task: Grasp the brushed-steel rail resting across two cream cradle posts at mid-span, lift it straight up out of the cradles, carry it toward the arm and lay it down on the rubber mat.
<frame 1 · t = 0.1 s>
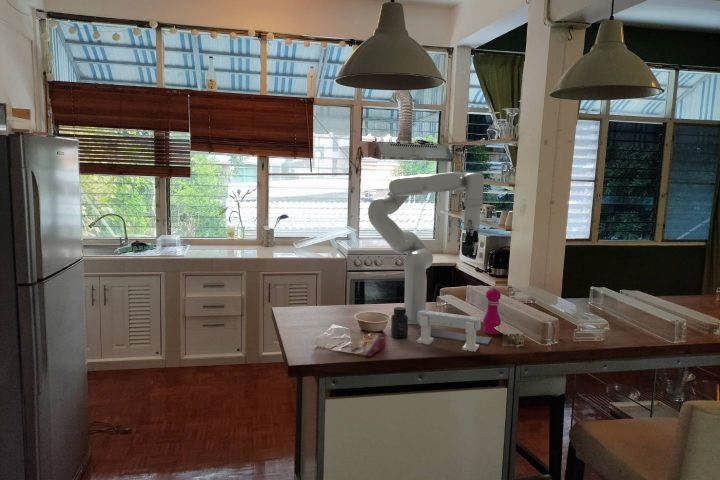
hand: (471, 243, 228), 37 cm above the table, tool pointing down, fingers open, 9 cm apart
post right: (470, 348, 208), on the table
supplement bottle: (399, 337, 220), on the table
pepper mill: (491, 332, 229), on the table
rail: (448, 324, 210), point 8 cm above the table, touching post left, post right
post left: (425, 341, 215), on the table
mat: (454, 336, 221), on the table
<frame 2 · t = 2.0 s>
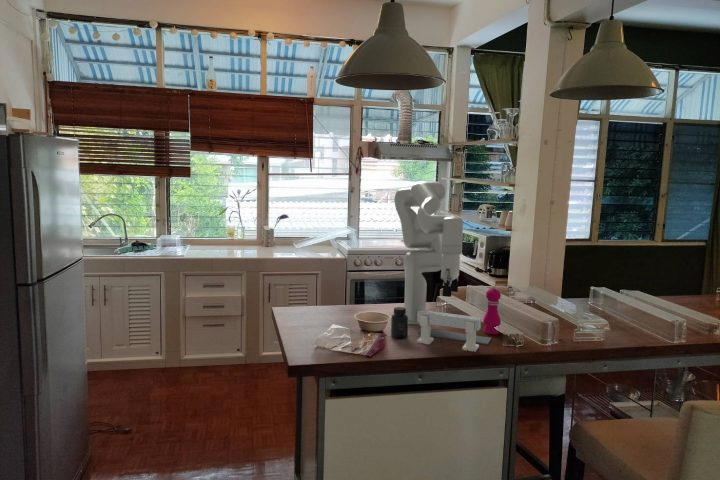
hand: (450, 293, 208), 20 cm above the table, tool pointing down, fingers open, 9 cm apart
nothing on the table moved.
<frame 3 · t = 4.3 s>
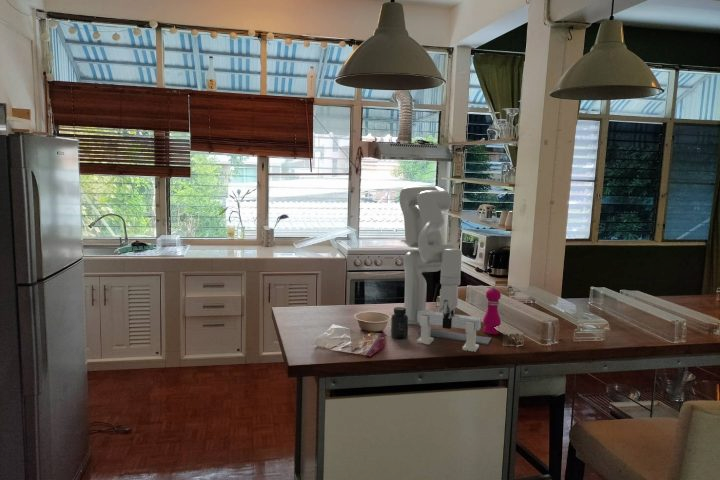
hand: (448, 326, 210), 7 cm above the table, tool pointing down, fingers closed on rail, 4 cm apart
rail: (448, 324, 210), point 8 cm above the table, touching gripper, post left, post right
everything else where it was.
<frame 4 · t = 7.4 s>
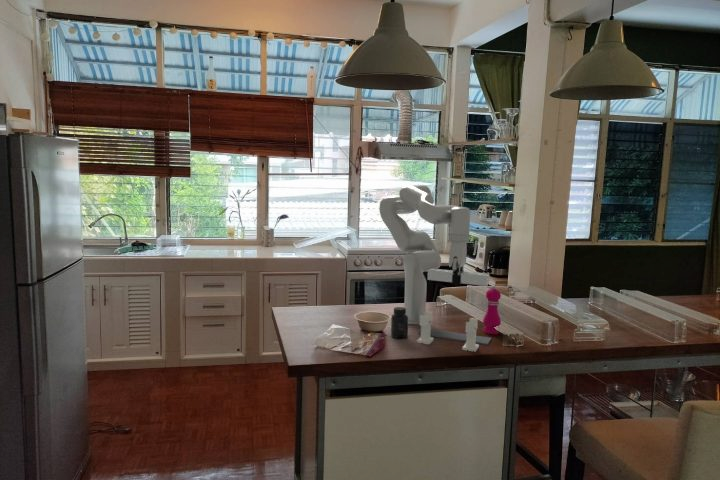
hand: (457, 283, 218), 22 cm above the table, tool pointing down, fingers closed on rail, 4 cm apart
rail: (457, 281, 218), point 23 cm above the table, touching gripper
everything else where it was.
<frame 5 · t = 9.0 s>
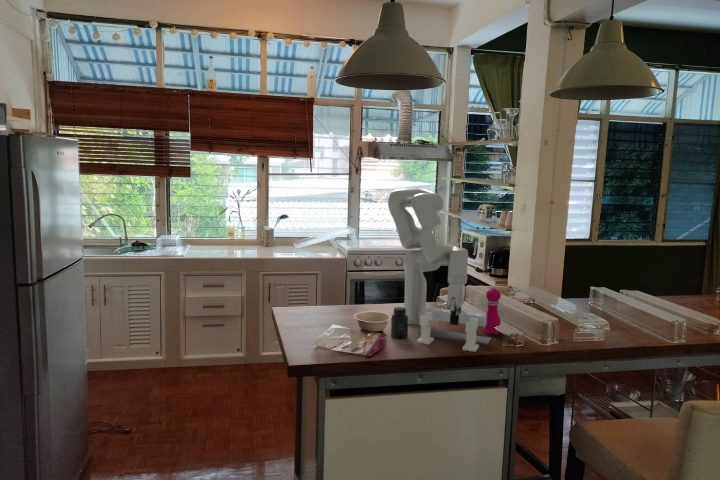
hand: (455, 322, 221), 6 cm above the table, tool pointing down, fingers closed on rail, 4 cm apart
rail: (455, 321, 220), point 7 cm above the table, touching gripper
everything else where it was.
when the fingers open (2 cm above the table, at t = 10.6 s): rail drops 1 cm, resting on mat.
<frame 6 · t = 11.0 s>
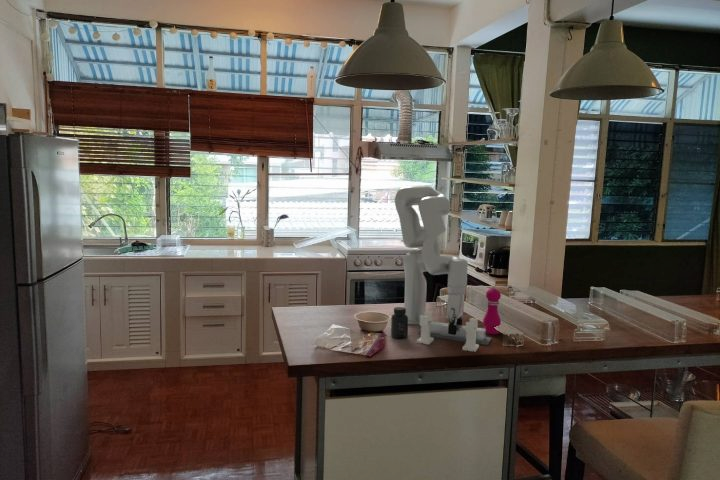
hand: (455, 331, 221), 2 cm above the table, tool pointing down, fingers open, 8 cm apart
rail: (454, 335, 221), point 1 cm above the table, touching mat
everything else where it was.
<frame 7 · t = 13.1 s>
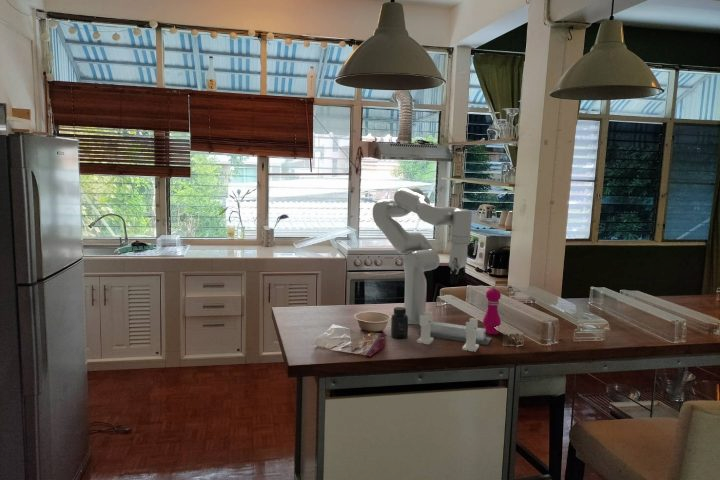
hand: (457, 281, 223), 22 cm above the table, tool pointing down, fingers open, 9 cm apart
nothing on the table moved.
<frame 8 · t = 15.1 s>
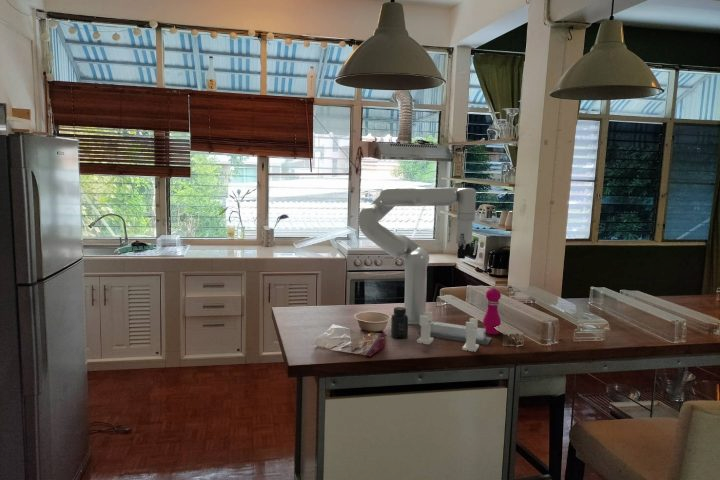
hand: (464, 256, 234), 30 cm above the table, tool pointing down, fingers open, 9 cm apart
nothing on the table moved.
at the end: rail inside the target area on the mat (0.1 cm from its centre), point 0.6 cm above the mat's base; rail point 0.6 cm above the table; the gripper is holding nothing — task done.
